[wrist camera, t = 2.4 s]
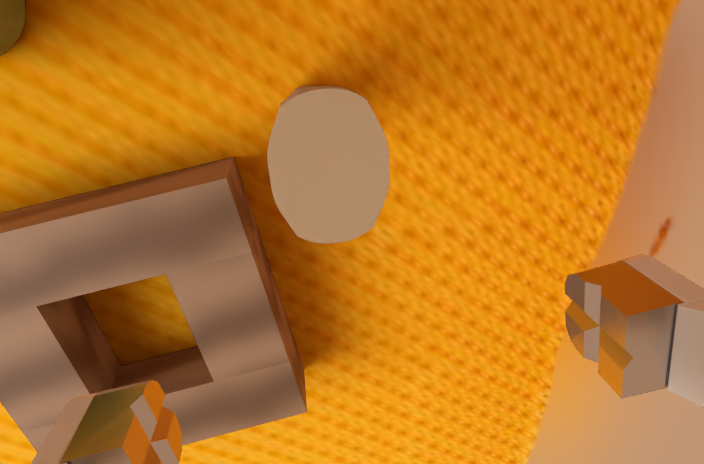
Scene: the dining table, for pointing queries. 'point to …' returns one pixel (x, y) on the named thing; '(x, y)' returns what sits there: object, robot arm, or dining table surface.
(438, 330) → the dining table surface
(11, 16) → the plant pot
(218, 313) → the socket block
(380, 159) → the handle
